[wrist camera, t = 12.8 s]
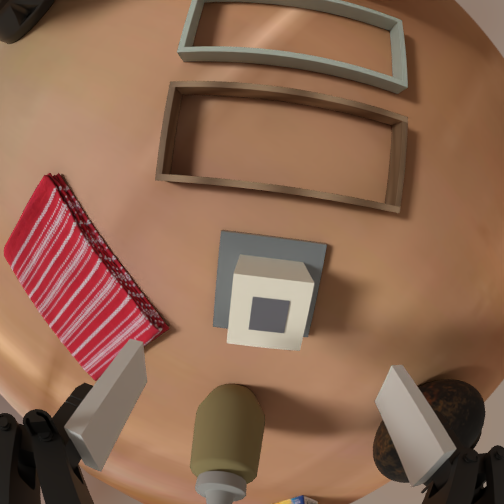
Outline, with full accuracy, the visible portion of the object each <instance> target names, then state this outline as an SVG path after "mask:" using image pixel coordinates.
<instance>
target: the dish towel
mask: <svg viewBox="0 0 504 504" xmlns="http://www.w3.org/2000/svg"><path fill="white" fill-rule="evenodd" d="M4 256H5V258H6V260H7V262H8V263H9V265H10V267H11V269H12V270H13V271H14V273H15V275H16V277H17V278H18V280H19V282H20V284H21V285H22V287H23V288H24V290H25V291H26V293H27V294H28V296H29V298H30V299H31V300H32V302H33V303H34V305H35V307H36V308H37V310H38V311H39V313H40V314H41V315H42V316H43V318H44V319H45V321H46V322H47V323H48V325H49V326H50V328H51V329H52V330H53V331H54V332H55V334H56V335H57V336H58V338H59V339H60V341H61V342H62V343H63V344H64V345H65V346H66V348H67V349H68V350H69V352H70V353H71V354H72V355H73V356H74V357H75V359H76V360H77V361H78V363H79V364H80V365H81V366H82V368H83V369H84V370H85V371H86V372H87V373H88V374H89V375H90V376H91V377H92V378H93V379H94V380H95V381H97V380H98V378H99V377H101V375H102V374H103V373H104V371H105V370H106V369H107V368H108V366H109V365H110V364H111V362H112V361H113V360H114V358H115V357H116V356H117V355H118V353H119V352H120V351H121V349H122V348H123V347H124V346H125V344H126V343H127V342H128V340H129V339H133V340H137V341H142V342H143V345H144V346H146V345H147V344H149V343H150V342H151V341H153V340H155V339H156V338H157V337H159V336H160V335H161V334H162V333H164V332H165V331H167V330H168V329H169V326H167V325H166V323H165V322H164V320H163V319H162V318H161V317H160V315H159V313H158V312H157V311H156V310H155V309H154V308H153V306H152V305H151V304H150V302H149V301H148V300H147V298H146V297H145V295H144V294H143V293H142V292H141V291H140V290H139V288H138V287H137V285H136V284H135V283H134V282H133V280H132V278H131V277H130V275H129V274H128V273H127V272H126V271H125V269H124V268H123V267H122V265H121V264H120V263H119V261H118V260H117V258H116V257H115V256H114V255H113V254H112V253H111V251H110V250H109V248H108V247H107V245H106V244H105V242H104V241H103V239H102V238H101V237H100V235H99V234H98V232H97V231H96V229H95V228H94V226H93V225H92V223H91V222H90V220H89V219H88V218H87V216H86V214H85V213H84V211H83V209H82V208H81V206H80V204H79V203H78V201H77V200H76V198H75V197H74V195H73V194H72V192H71V190H70V188H69V187H68V186H67V185H66V183H65V182H64V180H63V178H62V177H61V175H60V174H57V175H54V176H52V175H51V173H49V174H48V175H44V177H43V178H42V180H41V181H40V183H39V184H38V186H37V188H36V189H35V191H34V193H33V195H32V196H31V198H30V200H29V202H28V203H27V205H26V207H25V209H24V211H23V213H22V215H21V217H20V219H19V221H18V223H17V225H16V227H15V228H14V230H13V232H12V234H11V236H10V238H9V239H8V241H7V243H6V245H5V247H4Z"/></svg>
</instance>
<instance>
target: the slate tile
mask: <svg viewBox="0 0 504 504" xmlns="http://www.w3.org/2000/svg"><path fill="white" fill-rule="evenodd" d="M326 247H327V244H326V243H321V242H313V241H306V240H299V239H291V238H283V237H276V236H268V235H260V234H252V233H244V232H236V231H228V230H222V231H221V237H220V247H219V258H218V269H217V280H216V292H215V305H214V318H213V327H220V328H226V329H228V324H229V314H230V304H231V294H232V284H233V275H234V271H235V268H236V265H237V262H238V259H239V256H240V254H242V255H250V256H258V257H266V258H274V259H282V260H290V261H298V262H303V263H304V265H305V266H306V268H307V270H308V272H309V274H310V276H311V278H312V279H313V281H314V288H313V293H312V298H311V303H310V307H309V312H308V317H307V321H306V326H305V330H304V335H303V337H308V334H309V330H310V326H311V321H312V317H313V312H314V308H315V303H316V299H317V294H318V289H319V284H320V279H321V274H322V269H323V264H324V258H325V253H326Z"/></svg>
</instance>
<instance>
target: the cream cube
mask: <svg viewBox="0 0 504 504" xmlns="http://www.w3.org/2000/svg"><path fill="white" fill-rule="evenodd" d="M313 288H314V281H313V279H312V278H311V276H310V274H309V272H308V270H307V268H306V266H305V265H304V263H303V262H298V261H290V260H282V259H274V258H266V257H258V256H250V255H242V254H240V256H239V259H238V262H237V265H236V268H235V271H234V275H233V284H232V294H231V304H230V314H229V324H228V335H227V343H230V344H238V345H246V346H254V347H263V348H273V349H284V350H296V351H300V347H301V343H302V339H303V335H304V330H305V326H306V321H307V317H308V312H309V307H310V303H311V298H312V293H313Z"/></svg>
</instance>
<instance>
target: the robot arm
mask: <svg viewBox="0 0 504 504" xmlns="http://www.w3.org/2000/svg"><path fill="white" fill-rule="evenodd" d="M53 2H54V0H0V41H2V42H5V43H7V44H10V43H13V42H15V41H17V40H18V39H20V38H21V37H22V36H23V35H25V34H26V33H27V32H28V31H29V30H30V29H31V28H32V27H33V26H34V25H35V24H36V23H37V22H38V21H39V20H40V18H41V17H42V16H43V15H44V14H45V13H46V11H47V10H48V9H49V7H50V6H51V5H52V3H53ZM146 383H147V375H146V366H145V356H144V345H143V342H142V341H137V340H133V339H129V340H128V342H127V343H126V344H125V346H124V347H123V348H122V349H121V351H120V352H119V353H118V355H117V356H116V357H115V358H114V360H113V361H112V362H111V364H110V365H109V366H108V368H107V369H106V370H105V371H104V373H103V374H102V375H101V377H100V378H99V379H98V381H97V382H96V383H95V385H94V386H92V385H89V384H87V383H83V384H82V385H80V386H78V387H77V388H75V390H74V391H73V392H72V393H71V395H70V397H68V398H67V400H66V402H64V404H63V405H62V406H61V407H60V409H59V410H58V411H57V413H56V414H55V415H54V416H53V418H51V416H50V415H49V414H48V413H47V412H46V411H43V410H39V409H35V410H31V411H29V412H28V413H26V415H25V416H24V418H23V424H24V425H22V424H18V423H17V421H16V419H15V418H14V417H13V416H12V415H10V414H8V413H2V414H0V504H41V500H40V486H41V489H42V493H43V497H44V500H45V503H46V504H94V502H93V500H92V498H91V496H90V493H89V491H88V489H87V486H86V483H85V480H84V478H83V475H82V472H81V469H80V467H79V465H78V463H79V462H80V460H81V459H82V460H83V462H84V464H85V465H87V466H89V467H91V468H93V469H96V470H98V471H100V472H101V471H102V469H103V467H104V465H105V463H106V461H107V458H108V456H109V454H110V452H111V450H112V448H113V446H114V444H115V443H116V441H117V439H118V437H119V435H120V433H121V431H122V429H123V427H124V425H125V423H126V421H127V419H128V417H129V415H130V413H131V411H132V409H133V408H134V406H135V404H136V402H137V400H138V398H139V396H140V394H141V392H142V391H143V389H144V387H145V385H146ZM375 403H376V405H377V407H378V410H379V412H380V414H381V416H382V419H383V421H384V423H385V425H386V427H387V430H388V432H389V434H390V437H391V439H392V441H393V444H394V446H395V448H396V451H397V453H398V455H399V458H400V460H401V462H402V465H403V467H404V470H405V472H406V475H407V477H408V480H409V482H410V484H411V487H414V486H417V485H420V484H423V483H425V482H426V481H427V480H428V479H429V478H430V477H432V479H433V481H432V482H431V483H430V484H429V485H428V486H426V487H425V488H424V489H423V491H422V492H421V493H424V492H425V491H426V490H427V489H428V490H427V493H426V495H425V498H424V500H423V502H422V504H504V448H503V447H501V446H498V445H497V446H494V447H493V448H492V449H491V450H490V451H489V452H488V453H483V454H478V453H477V452H476V451H475V450H473V449H471V448H464V447H463V445H462V444H461V442H460V440H459V439H458V437H457V436H456V434H455V432H454V431H453V429H451V426H450V425H449V424H448V421H447V420H446V418H445V417H444V415H442V414H441V413H440V412H439V411H437V410H435V411H433V409H432V408H431V406H430V405H429V403H428V402H427V400H426V399H425V397H424V396H423V394H422V393H421V391H420V390H419V388H418V387H417V385H416V384H415V382H414V381H413V379H412V378H411V376H410V375H409V373H408V372H407V371H406V369H405V368H404V366H403V365H391V368H390V370H389V372H388V374H387V377H386V379H385V381H384V383H383V385H382V387H381V390H380V392H379V394H378V396H377V398H376V400H375ZM485 482H486V483H487V486H486V487H485V488H484V487H483V484H484V483H485Z"/></svg>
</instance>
